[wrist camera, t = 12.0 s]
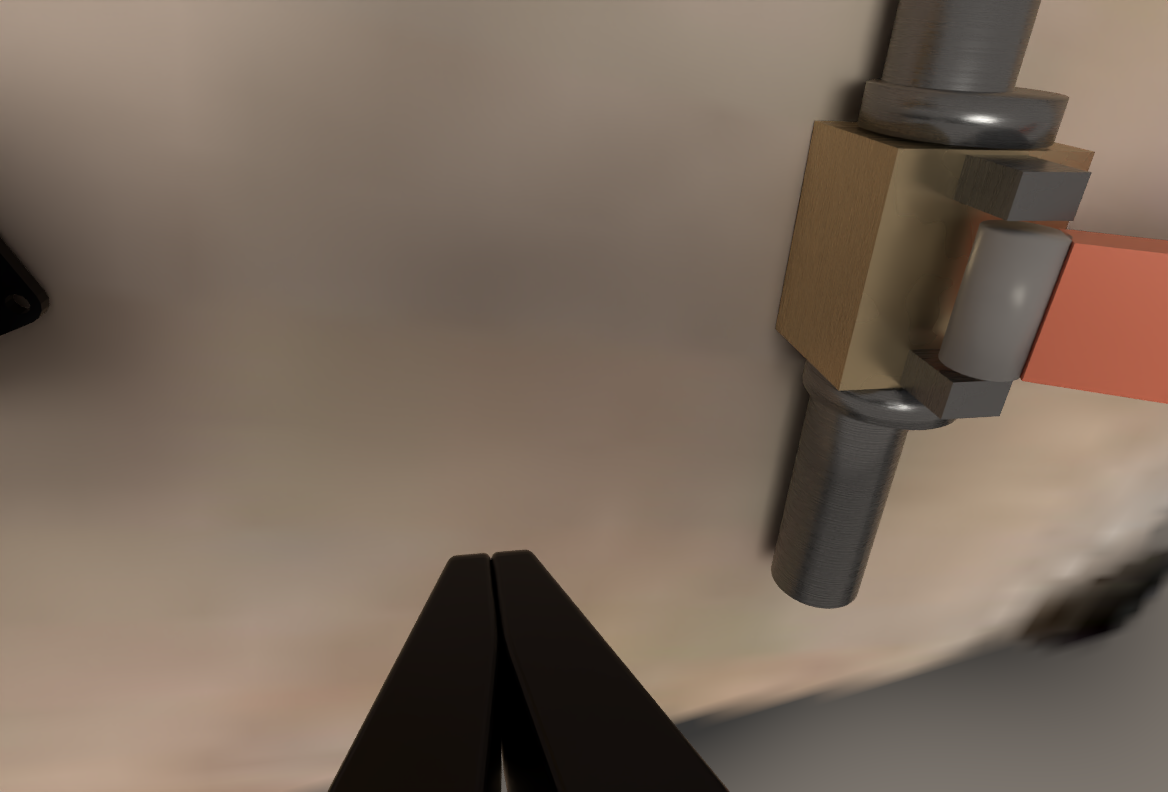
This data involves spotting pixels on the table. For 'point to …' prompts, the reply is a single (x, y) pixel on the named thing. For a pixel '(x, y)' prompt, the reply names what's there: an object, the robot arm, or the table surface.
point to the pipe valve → (904, 264)
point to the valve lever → (1063, 310)
